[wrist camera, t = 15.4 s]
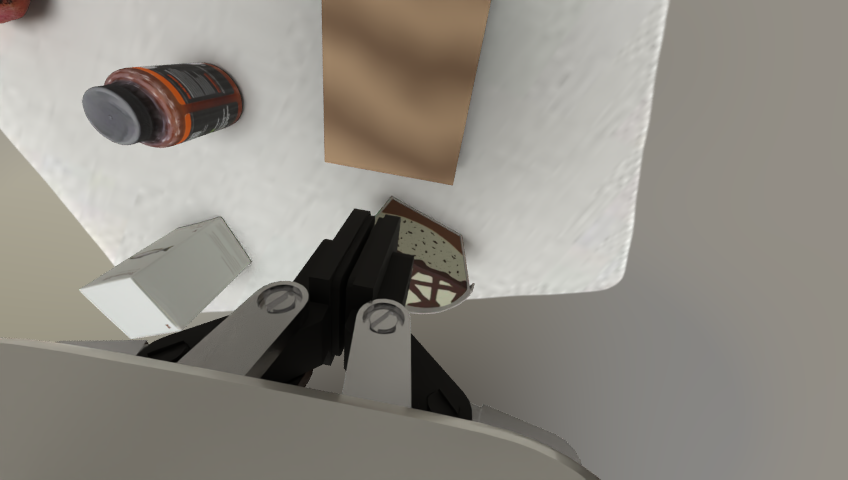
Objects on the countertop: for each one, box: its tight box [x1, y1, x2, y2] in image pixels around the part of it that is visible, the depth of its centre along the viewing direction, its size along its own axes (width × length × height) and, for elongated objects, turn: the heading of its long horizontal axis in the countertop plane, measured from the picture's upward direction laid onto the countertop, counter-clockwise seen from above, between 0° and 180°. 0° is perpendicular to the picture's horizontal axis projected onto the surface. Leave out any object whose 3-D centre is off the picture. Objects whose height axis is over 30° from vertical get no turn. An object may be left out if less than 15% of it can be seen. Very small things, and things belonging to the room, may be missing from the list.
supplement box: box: [79, 217, 251, 339], centre depth 37 cm, size 7×7×13 cm
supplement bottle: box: [82, 63, 242, 148], centre depth 27 cm, size 6×6×11 cm
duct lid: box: [322, 0, 491, 185], centre depth 24 cm, size 20×12×1 cm, turn 172°
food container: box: [375, 196, 474, 314], centre depth 34 cm, size 12×6×10 cm, turn 61°
